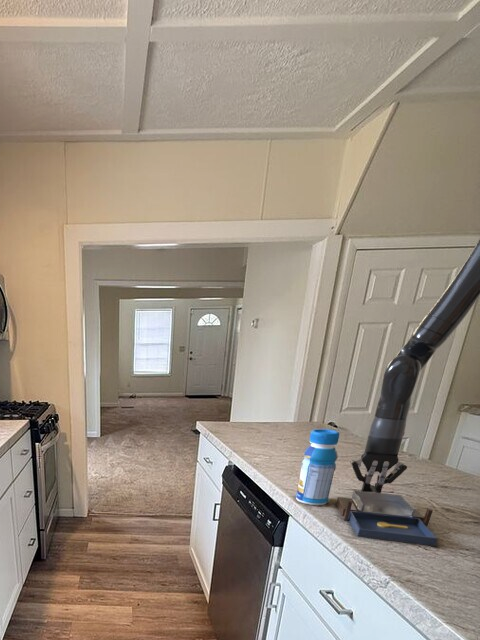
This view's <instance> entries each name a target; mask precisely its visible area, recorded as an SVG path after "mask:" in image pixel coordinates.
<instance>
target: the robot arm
mask: <svg viewBox="0 0 480 640" xmlns="http://www.w3.org/2000/svg"><path fill="white" fill-rule="evenodd" d="M479 297H480V238H479V239H478V241H477V243H476V244H475V246H474V247H473V249H472V251H471V253H470V254H469V256H468V257H467V259H466V260H465V262H464V263H463V264H462V266H461V267H460V269H459V271H458V272H457V273H456V275H455V276H454V278H453V279H452V280H451V282H450V283H449V284H448V286H447V287H446V288H445V290H444V291H443V292H442V294H441V295H440V296H439V297H438V298H437V300H436V301H435V302H434V304H433V305H432V306H431V307H430V308H429V310H428V311H427V312H426V314H425V315H424V317H423V318H422V320H420V322H419V324H418V325H416V327H415V329H414V330H413V332H412V333H411V335H410V337H409V339H408V340H407V342H406V343H405V344H404V345H403V346H402V348H400V350H399V351H398V353H397V354H396V355H395V356H394V357H393V358H392V359H390V361H389V362H388V363H387V365H386V366H385V369H384V374H383V379H382V384H381V391H380V396H379V399H378V401H377V403H376V404H377V405H376V408H375V412H374V416H373V420H372V422H371V424H370V429H369V433H368V435H367V441H366V444H365V448H364V452H363V454H362V455H361V456H360V457H359V458H357V459H352V460H350V466H351V468H352V470H353V472H354V474H355V477H356V479H357V480H358V481H359V482H362V486H361V490H360V491H365V492H369V489H370V485H372V484H371V482H372V479H373V476H374V475H375V473H377V476H376V482H374V486H375V487H376V488H377V490H378V491H379V492H380V493H382V490H383V487H384V485H386V484H392V483H393V482H394V481H395V480H396V479H398V478H399V476H401V475H402V474H403V473H404V472H405V471H406V470H407V469H408V466H407V464H405V463H402V462H400V461H399V452H400V449H401V446H402V442H403V438H404V436H405V433H406V432H405V431H406V427H407V420H408V416H409V413H410V409H411V405H412V395H413V393H414V391H415V387H416V384H417V381H418V378H419V375H420V373H421V371H422V370H423V368H424V367H425V366H426V365H427V363H428V362H429V361H430V359H431V358H432V357H433V355H434V354H435V353H436V351H437V350H438V349H439V348H440V347H441V346H443V345H444V344H445V343H446V341H448V338H450V337H451V335H452V334H453V333H454V332H455V331H456V329H457V328H458V327H459V325H460V324H461V323H462V322H463V321H464V319H465V318H466V316H467V315H468V314H469V313H470V311H471V310H472V308H473V307H474V305H475V304H476V302H477V300H478V299H479ZM362 464H363V465H364V467H365V472H364V475H363V474H362V471H361V469H360V467H362ZM392 468H393V470H392V471H390V473H389V474H388V475H387V473H388V471H389V470H390V469H392Z"/></svg>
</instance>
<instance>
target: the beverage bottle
mask: <svg viewBox="0 0 480 640" xmlns="http://www.w3.org/2000/svg"><path fill="white" fill-rule="evenodd" d="M339 439H340V432H339V431H337V430H334V429H324V428H317V429H312V430H311V432H310V437H309V443H310V445H309V446H308V447H307V448H306V449H305V451H304V453H303V458H304V459H302V462H301V464H300V467H301V468H300V474H299V480H298V484H297V489H296V495H295V499H296V501H297V502H299V503H302V504H305V505H311V506H323V505H326V504H327V503H328V502H329V497H330V492H331V488H332V483H333V479H334V475H335V471H336V468H337V464H336V462H337V460H338V457H339V456H338V452H337V448H336V447H335V446H337V445H338V443H339Z"/></svg>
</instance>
